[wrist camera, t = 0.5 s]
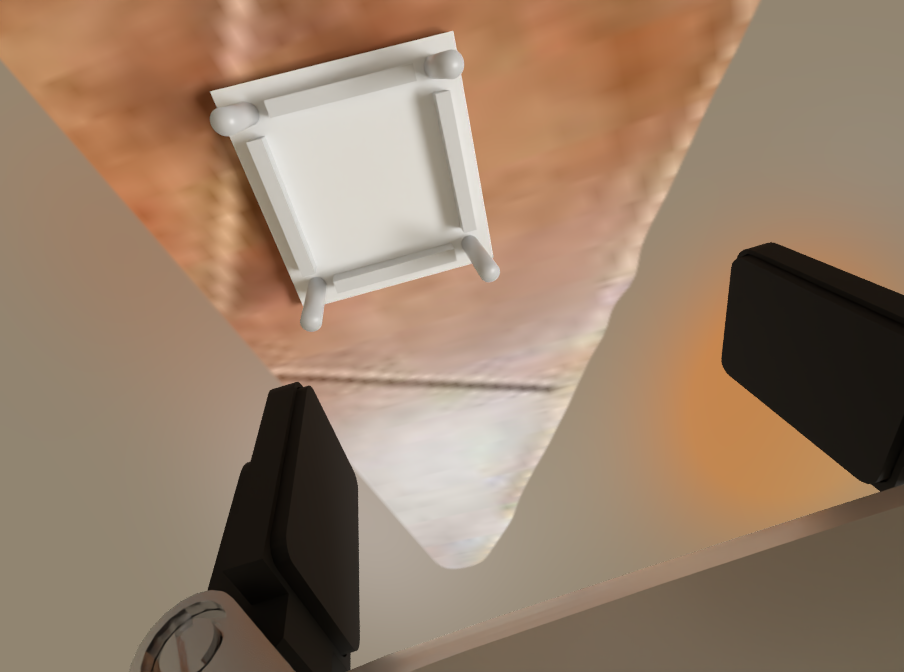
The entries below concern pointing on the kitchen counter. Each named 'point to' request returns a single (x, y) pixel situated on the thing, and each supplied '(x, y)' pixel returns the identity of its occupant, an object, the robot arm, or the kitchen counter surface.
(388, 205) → the tray
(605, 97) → the kitchen counter surface
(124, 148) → the kitchen counter surface
